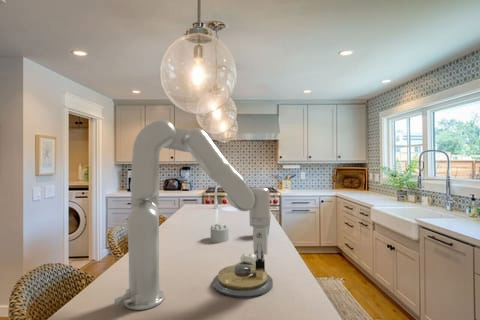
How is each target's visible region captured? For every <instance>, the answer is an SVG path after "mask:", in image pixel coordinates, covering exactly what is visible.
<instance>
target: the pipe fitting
mask: <svg viewBox="0 0 480 320" xmlns="http://www.w3.org/2000/svg"><path fill="white" fill-rule="evenodd" d="M240 262H241V263H243V264H247V265H254V266H256V255H255V254H254V253H249V254H248V255H247V254H245V253H243V254H242V255H241V256H240Z"/></svg>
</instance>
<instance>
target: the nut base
mask: <svg viewBox="0 0 480 320" xmlns="http://www.w3.org/2000/svg"><path fill="white" fill-rule="evenodd" d="M273 283H274V282H273V278H272V276H270V275H269V274H268V273H267V283H266V284H265V285H264V286H262V287H260V288H257V289H254V290H246V291H239V290H231V289H227V288H225V287H223V286H221V285H220V284H219V281H218V274H217V275H216V276H214V278H213V280H212V287H213V290H214V291H215V292H217V293H218V294H220V295H222V296H225V297H229V298H234V299H249V298H256V297H261V296H263V295H265V294H268V293H269V292H270V291H271V290H272V289H273V287H274V286H273Z"/></svg>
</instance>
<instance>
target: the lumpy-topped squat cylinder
mask: <svg viewBox="0 0 480 320" xmlns="http://www.w3.org/2000/svg"><path fill="white" fill-rule="evenodd" d="M229 232H230V230H229V226H228V224H224V223H215V224H212V225H211V226H210V242H212V243H216V244H222V242H223V243H226V242H228V241H229V239H230V238H229V237H230V235H229Z"/></svg>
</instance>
